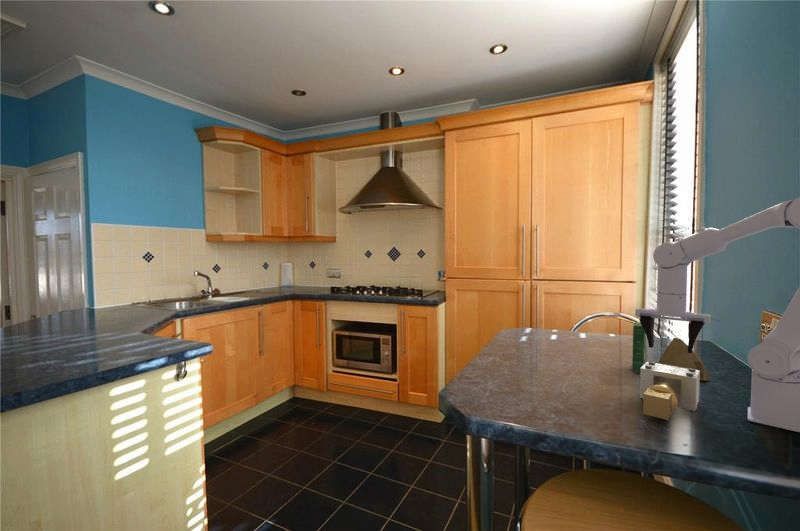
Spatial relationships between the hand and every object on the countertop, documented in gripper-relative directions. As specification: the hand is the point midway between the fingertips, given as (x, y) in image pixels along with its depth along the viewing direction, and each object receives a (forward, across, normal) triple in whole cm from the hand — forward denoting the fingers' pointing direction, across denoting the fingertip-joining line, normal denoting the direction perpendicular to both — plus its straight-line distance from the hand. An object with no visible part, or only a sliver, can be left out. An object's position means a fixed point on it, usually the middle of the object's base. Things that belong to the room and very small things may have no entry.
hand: (670, 349), depth 90 cm
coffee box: (+10, -9, +14) cm, 19 cm away
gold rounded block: (+10, +1, -18) cm, 21 cm away
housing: (+10, +1, -8) cm, 12 cm away
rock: (+10, +1, +15) cm, 18 cm away
